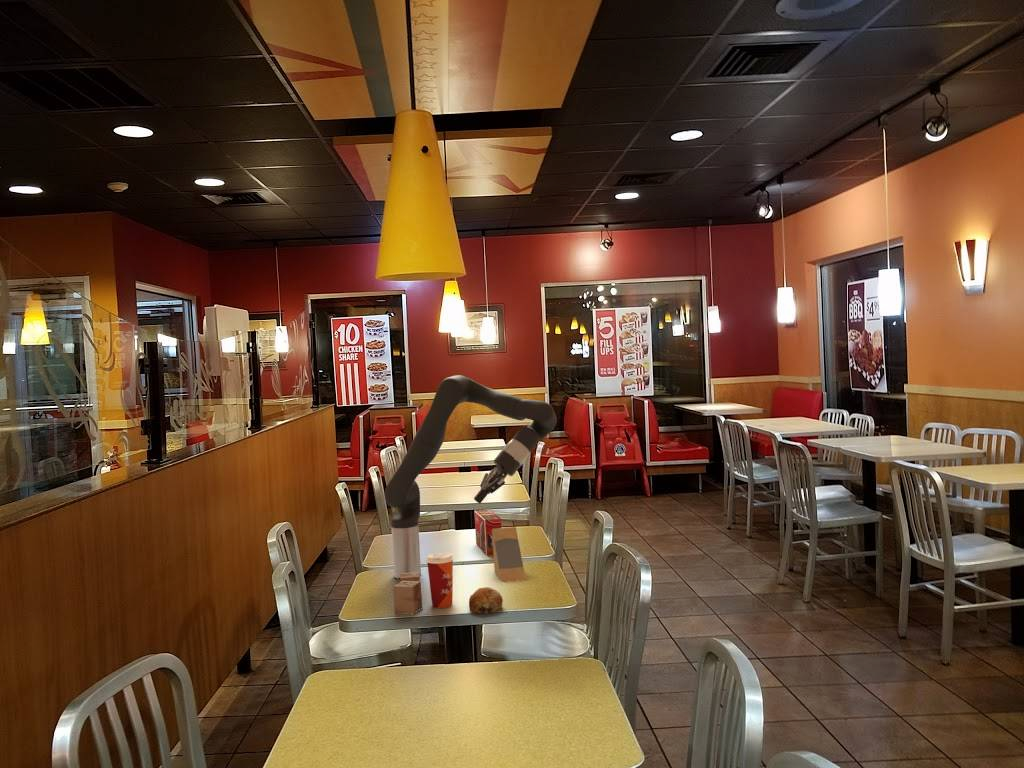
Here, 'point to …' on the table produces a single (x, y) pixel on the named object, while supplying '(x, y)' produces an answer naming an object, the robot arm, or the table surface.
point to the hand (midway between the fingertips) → (476, 501)
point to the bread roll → (485, 600)
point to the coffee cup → (441, 579)
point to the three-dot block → (407, 596)
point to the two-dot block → (410, 576)
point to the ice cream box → (486, 529)
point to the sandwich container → (507, 554)
